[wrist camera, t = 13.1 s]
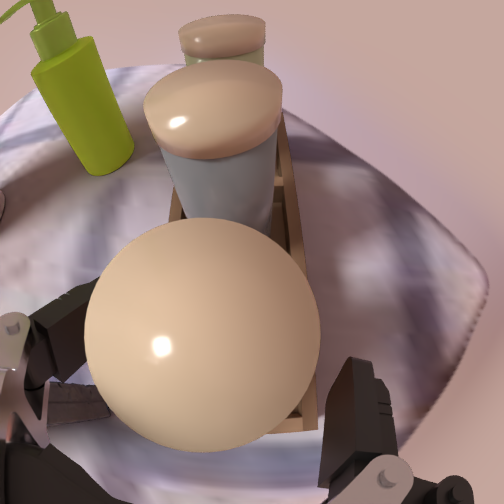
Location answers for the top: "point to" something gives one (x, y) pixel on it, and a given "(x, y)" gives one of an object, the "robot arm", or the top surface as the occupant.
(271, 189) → the slate blue jar
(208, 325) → the terracotta jar
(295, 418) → the walnut spice rack
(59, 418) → the vhs cassette tape
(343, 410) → the robot arm
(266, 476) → the top surface
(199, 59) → the olive jar
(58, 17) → the soap dispenser
